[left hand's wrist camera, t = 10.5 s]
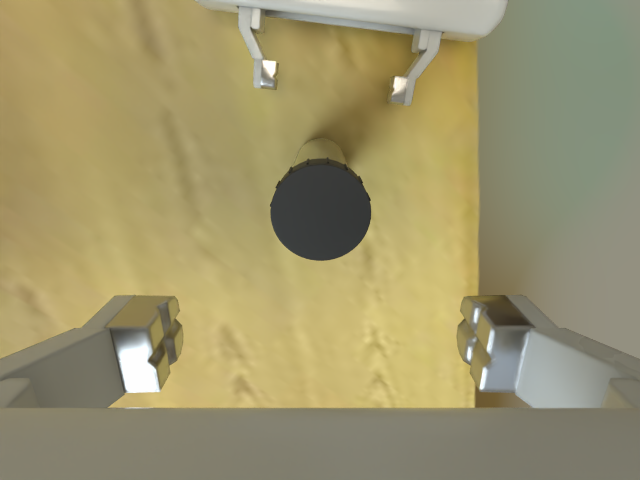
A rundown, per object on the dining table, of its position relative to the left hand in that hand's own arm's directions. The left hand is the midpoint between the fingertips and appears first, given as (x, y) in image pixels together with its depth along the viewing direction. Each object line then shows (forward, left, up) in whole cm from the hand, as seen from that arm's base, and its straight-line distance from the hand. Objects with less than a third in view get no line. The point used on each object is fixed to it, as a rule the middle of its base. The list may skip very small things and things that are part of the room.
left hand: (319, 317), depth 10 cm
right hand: (+4, +4, -20) cm, 20 cm away
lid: (0, 0, -10) cm, 10 cm away
